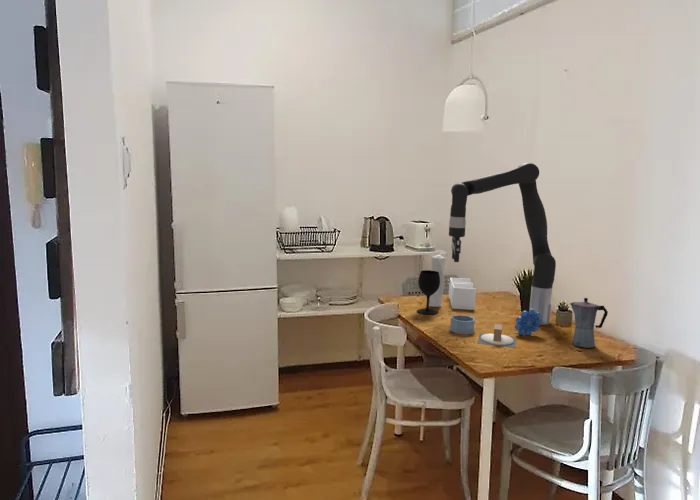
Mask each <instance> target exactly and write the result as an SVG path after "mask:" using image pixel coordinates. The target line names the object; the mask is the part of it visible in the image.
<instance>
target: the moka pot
mask: <svg viewBox="0 0 700 500" xmlns="http://www.w3.org/2000/svg"><path fill="white" fill-rule="evenodd" d="M588 300H589V298H587V297H584V298H583V301H578V302H577V301H573V302H571V303H569V305H571V309H572V311H573V314H574V321H575V323H574V326H575V328H574V332H573V336H572V337H573V338H572V345H573V346H575V347H578V348H585V349H586V348H587V349H589V348H594V347H596V343H595V341H596V340H595V331H594V328H596V329H601V328H602V327H603V325H604V323H605V320H606V319H607V316H608V313H609V312H608V310H607V308H606V307H605V305H599V304H597V303H596V304H595V303H593V302H589V301H588ZM598 311H603V312H604V313H603V315H602V318H601V320H600V323H599V325H597V324H596V325H595V323H596V317H597V312H598Z"/></svg>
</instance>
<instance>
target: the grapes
mask: <svg viewBox="0 0 700 500" xmlns="http://www.w3.org/2000/svg"><path fill="white" fill-rule="evenodd" d="M520 315H521V316H520ZM520 315H518V316H517V317H516V318H515V321H516V324H515V325H514V330H516V331H517V332H518V335H519V336H523V335H525V336H531V335H532V334H533V333H536V332H538V331H539V326H540V324H541V323H542V320H541V319H539V318H540V316H541V314H540V313H539V312H536V313H535V310H534V309H531V310H529V311H527V310H523V311H522V312H521V314H520Z"/></svg>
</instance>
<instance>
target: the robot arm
mask: <svg viewBox="0 0 700 500" xmlns="http://www.w3.org/2000/svg"><path fill="white" fill-rule="evenodd" d="M539 176H540V169H539V167H538V166H537V164H535V163H533V162H524V163H520V165H518V166H517V168H514V169H511V170H508V171H505V172H499V173H494V174H490V175H486V176H480V177H478V178H474V179H472V180H465V181H462V182H457V183H455V184H453V185H452V187H451V190H450V191H451V205H450V216H449V222H448V237H451V251H452V252H451V259H452V260H453V262H454V263H459V262H460V254H461V253H462V252H461V250H462V246H461V245H462V240H461V238H465V236H466V225H467V220H466V219H467V217H466V216H467V201H468V197H469V196H473V195H478V194H483V193H487V192H490V191H491V192H492V191H494V190H497V189H500V188H503V187H507V186H511V185H512V186H513V185H517V184H518V187H519V189H520V194H521V201H522V208H523V215H524V221H525V225H526V229H527V233H528V236H529V240H530V243H531V250H532V264H533V265H534V267H533V268H534V269H533V275H532V276H533V277H532V281H531V289H530V299H529V300H530V301H529V310H531V309H534V310H535V313H536V312H539V313H540V314H541V316H540V318H539V319H541V320H542V323H541V324H540V325H541V326H543V325H544V326H545V325H546V326H547V325H548V326H549V325H550V319H551V313H552V312H551V310H552V298H553V297H552V295H553V286H554V281H555V275H556V266H557V263H556V259H555V257H554V256H553V255H552V253H551V249H550V245H549V241H548V220H547V215H546V210H545V208H544V207H545V206H544V204H543V202H542V199H541V197H540V194H539V192H538V186H537V179H538V178H539ZM540 325H539V326H540Z"/></svg>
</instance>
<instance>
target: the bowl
mask: <svg viewBox="0 0 700 500" xmlns="http://www.w3.org/2000/svg"><path fill="white" fill-rule="evenodd" d="M475 324H476V318H475V317H472V316H470V315H463V314H457V315H451V317H450V327H449V330H450V332H452V333H455V334H459V335H473V334H474V332H475Z"/></svg>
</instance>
